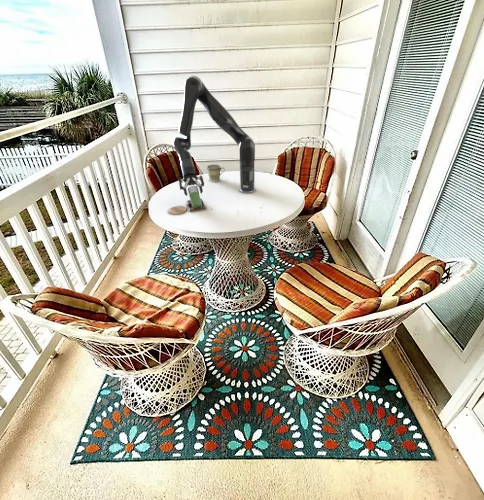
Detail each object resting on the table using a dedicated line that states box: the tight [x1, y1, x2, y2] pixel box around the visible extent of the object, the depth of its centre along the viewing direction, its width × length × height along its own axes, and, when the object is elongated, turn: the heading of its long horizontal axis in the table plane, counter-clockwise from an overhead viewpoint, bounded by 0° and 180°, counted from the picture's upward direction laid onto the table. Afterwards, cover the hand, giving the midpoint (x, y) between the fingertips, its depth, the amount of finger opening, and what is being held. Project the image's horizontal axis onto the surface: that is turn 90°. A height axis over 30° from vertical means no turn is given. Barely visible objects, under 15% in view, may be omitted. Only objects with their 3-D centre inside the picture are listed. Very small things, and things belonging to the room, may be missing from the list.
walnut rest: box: [186, 198, 206, 213], centre depth 161 cm, size 10×9×3 cm
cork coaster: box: [168, 205, 187, 215], centre depth 159 cm, size 10×10×1 cm
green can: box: [187, 185, 203, 209], centre depth 158 cm, size 12×6×13 cm, turn 19°
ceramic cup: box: [206, 164, 226, 183], centre depth 196 cm, size 13×10×10 cm
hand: (194, 194), depth 158 cm, fingers open, 8 cm apart
